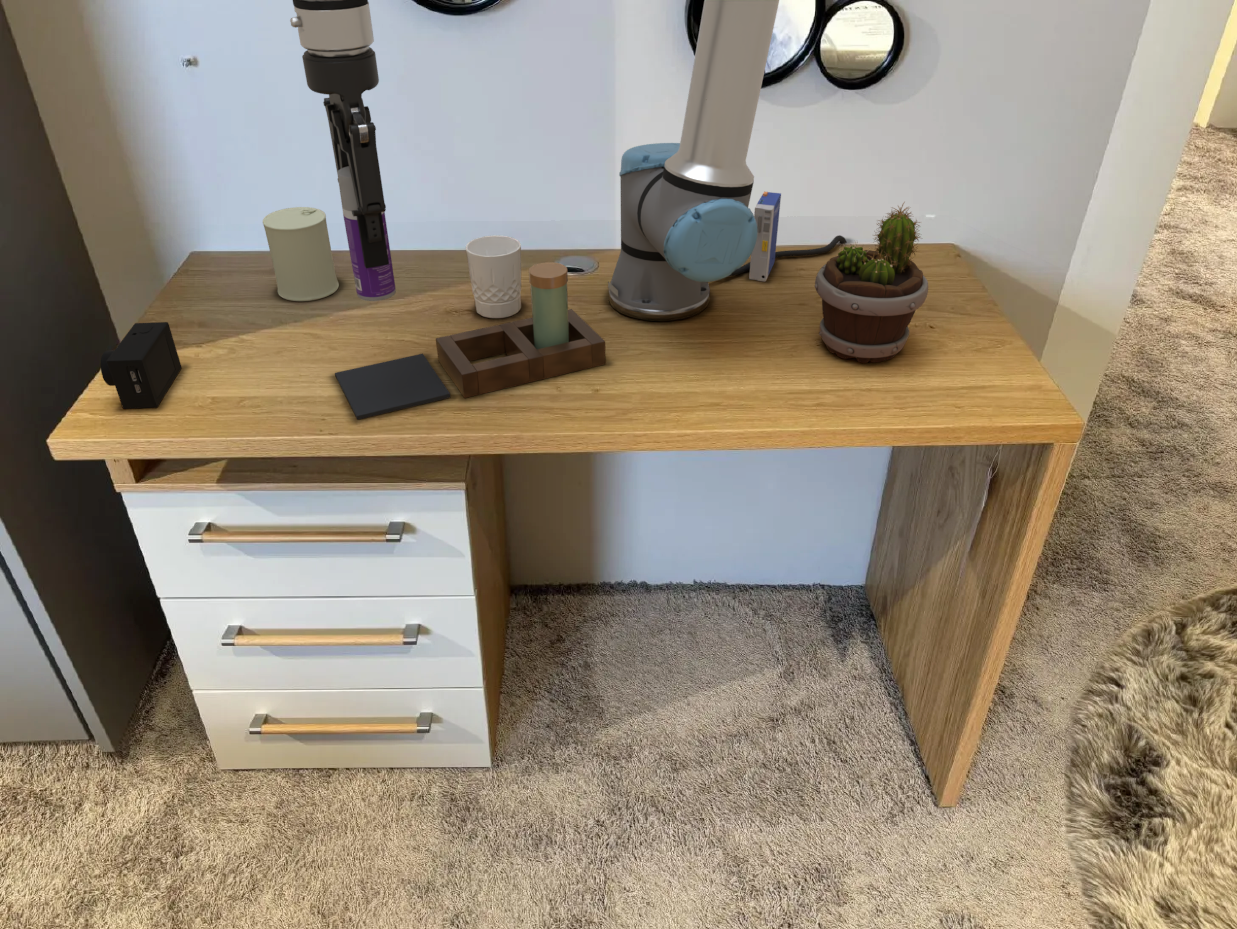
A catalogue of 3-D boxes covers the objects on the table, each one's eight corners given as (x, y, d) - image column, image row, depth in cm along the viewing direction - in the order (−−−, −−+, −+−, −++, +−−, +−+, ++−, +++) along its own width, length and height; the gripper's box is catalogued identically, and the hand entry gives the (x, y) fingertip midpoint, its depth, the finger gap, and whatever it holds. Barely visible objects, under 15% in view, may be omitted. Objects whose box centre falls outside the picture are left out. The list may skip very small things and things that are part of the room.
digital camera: (140, 369, 129) (125, 322, 125) (182, 367, 129) (168, 320, 125) (113, 409, 120) (95, 360, 116) (157, 408, 120) (141, 359, 116)
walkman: (757, 260, 158) (764, 189, 151) (774, 262, 157) (781, 191, 150) (748, 279, 152) (754, 205, 145) (765, 281, 151) (772, 207, 144)
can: (351, 284, 150) (338, 210, 144) (306, 306, 144) (291, 230, 137) (310, 272, 155) (295, 199, 148) (265, 292, 148) (247, 217, 141)
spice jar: (561, 344, 134) (558, 259, 127) (576, 359, 130) (573, 273, 123) (528, 351, 132) (523, 266, 125) (542, 367, 129) (537, 280, 121)
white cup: (534, 303, 145) (530, 240, 139) (507, 324, 139) (502, 259, 133) (489, 294, 148) (484, 231, 142) (461, 314, 142) (455, 250, 136)
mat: (423, 357, 131) (422, 353, 131) (450, 397, 122) (450, 393, 122) (335, 376, 127) (334, 372, 126) (357, 420, 118) (356, 416, 118)
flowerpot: (852, 383, 125) (875, 236, 113) (786, 334, 136) (802, 196, 125) (939, 360, 130) (970, 217, 119) (869, 314, 141) (891, 180, 130)
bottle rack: (572, 330, 137) (571, 308, 135) (605, 364, 129) (605, 341, 127) (438, 361, 130) (435, 338, 128) (464, 398, 122) (461, 374, 120)
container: (387, 302, 115) (368, 178, 106) (350, 299, 115) (328, 176, 107) (401, 286, 118) (384, 165, 110) (366, 283, 119) (346, 163, 111)
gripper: (285, 36, 106) (323, 237, 119) (320, 69, 93) (357, 291, 106) (353, 30, 109) (382, 227, 122) (395, 61, 96) (423, 278, 109)
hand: (371, 256), depth 114 cm, fingers closed on container, 5 cm apart
